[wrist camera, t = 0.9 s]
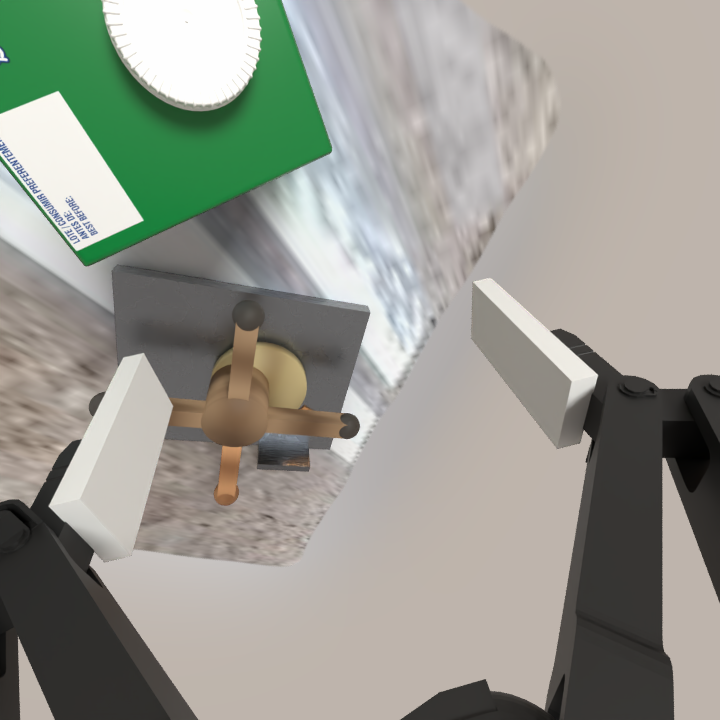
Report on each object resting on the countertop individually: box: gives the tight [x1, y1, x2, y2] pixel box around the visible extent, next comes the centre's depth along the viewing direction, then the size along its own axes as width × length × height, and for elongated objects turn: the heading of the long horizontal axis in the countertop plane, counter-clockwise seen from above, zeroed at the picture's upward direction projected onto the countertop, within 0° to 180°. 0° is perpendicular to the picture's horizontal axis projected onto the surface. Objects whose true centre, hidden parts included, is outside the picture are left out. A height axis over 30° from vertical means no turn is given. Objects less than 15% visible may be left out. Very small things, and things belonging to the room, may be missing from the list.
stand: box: [112, 265, 370, 472], centre depth 44 cm, size 24×21×6 cm
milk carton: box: [0, 0, 332, 266], centre depth 21 cm, size 9×9×25 cm
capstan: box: [89, 300, 360, 506], centre depth 41 cm, size 25×25×7 cm
